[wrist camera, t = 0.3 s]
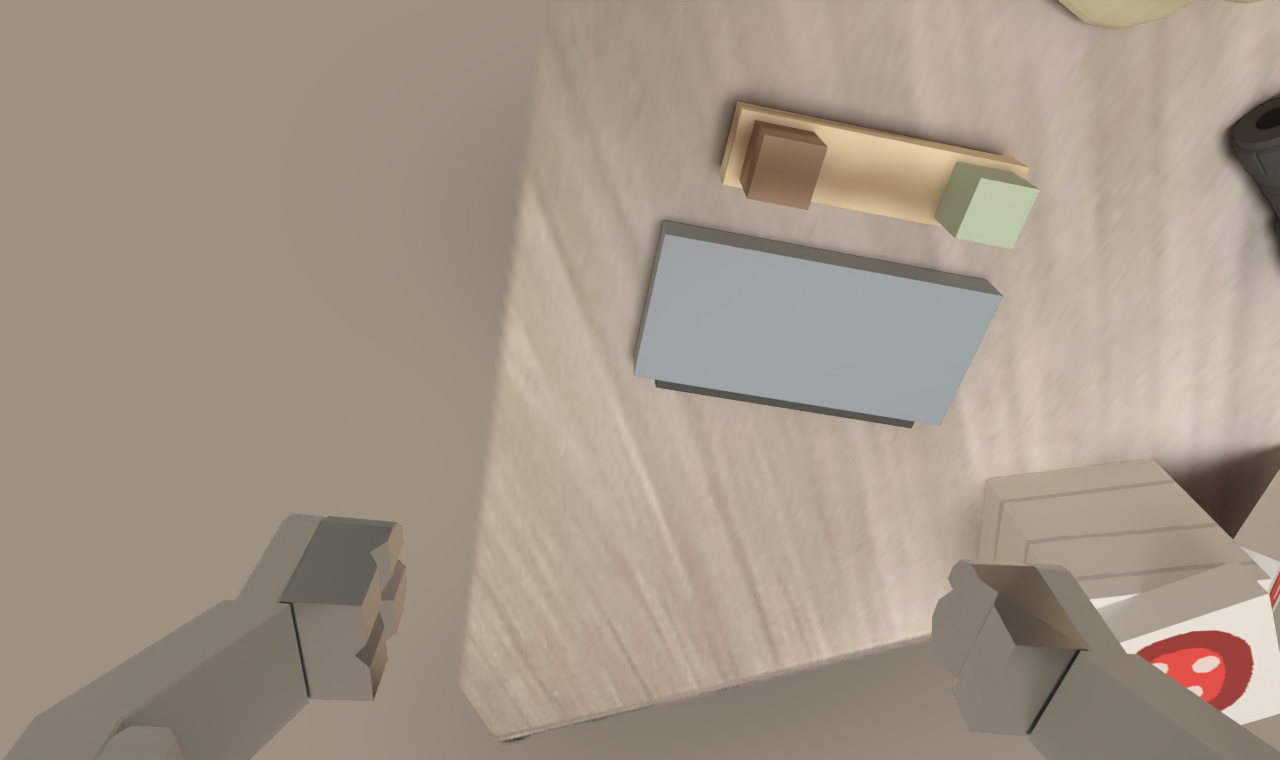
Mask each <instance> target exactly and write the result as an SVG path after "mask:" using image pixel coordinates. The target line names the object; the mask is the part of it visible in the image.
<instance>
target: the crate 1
mask: <svg viewBox="0 0 1280 760" xmlns="http://www.w3.org/2000/svg"><path fill="white" fill-rule="evenodd" d="M827 149H828V147H827V145H826V144H825V143H824V142H823V141H822V140H821V139H820V138H819V137H818V136H817V135H816V133H815V132H812V131H807V130H802V129H797V128H792V127H788V126H783V125H778V124H773V123H768V122H763V121H758V120H755V122H754V126H753V130H752V134H751V137H750V141H749V145H748V149H747V153H746V156H745V160H744V164H743V168H742V171H741V175H740V179H739V181H740V183H741V185H742V188H743V190H744V192H745V195H746V197H747V198H748V199H753V200H758V201H764V202H769V203H774V204H779V205H784V206H790V207H795V208H800V209H805V210H808V208H809V205H810V202H811V199H812V196H813V193H814V189H815V186H816V183H817V180H818V177H819V174H820V171H821V168H822V164H823V161H824V158H825V155H826V152H827Z"/></svg>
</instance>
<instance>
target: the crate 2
mask: <svg viewBox="0 0 1280 760" xmlns="http://www.w3.org/2000/svg"><path fill="white" fill-rule="evenodd" d="M1039 192H1040V189H1038V188H1037V187H1035V186H1033V185H1032V184H1030V183H1029V182H1027V181H1026V180H1024V179H1022V178H1021V177H1019V176H1018V175H1016V174H1015V173H1013V172H1009V171H1004V170H999V169H994V168H989V167H984V166H980V165H975V164H970V163H965V162H960V161H957V162H956V165H955V167H954V169H953V172H952V174H951V177H950V179H949V182H948V184H947V187H946V189H945V191H944V194H943V196H942V199H941V201H940V204H939V206H938V209H937V211H936V213H935V216H934V219H936V220H937V221H938V222H939V223H940V224H941V225H942V226H943V227H944V228H945V229H946V230H947V231H948V232H949V233H950V234H951V235H952V236H953V237H955V238H957V239H962V240H968V241H973V242H978V243H983V244H989V245H994V246H999V247H1004V248H1010V249H1012V248H1013V246H1014V244H1015V242H1016V240H1017V238H1018V236H1019V234H1020V232H1021V229H1022V227H1023V225H1024V223H1025V221H1026V219H1027V217H1028V215H1029V213H1030V211H1031V208H1032V206H1033V204H1034V202H1035V200H1036V198H1037V196H1038V194H1039Z"/></svg>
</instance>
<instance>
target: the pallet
mask: <svg viewBox="0 0 1280 760" xmlns="http://www.w3.org/2000/svg"><path fill="white" fill-rule="evenodd" d="M755 120H758V121H763V122H768V123H773V124H778V125H783V126H788V127H792V128H797V129H802V130H807V131H812V132H815V133H816V135H817V136H818V137H819V138H820V139H821V140H822V141H823V142H824V143H825V144H826V145H827V147H828V149H827V152H826V155H825V158H824V161H823V164H822V168H821V171H820V174H819V177H818V180H817V183H816V186H815V189H814V193H813V196H812V199H811V202H816V203H821V204H826V205H831V206H837V207H842V208H847V209H852V210H857V211H863V212H868V213H873V214H878V215H883V216H889V217H894V218H899V219H904V220H909V221H915V222H920V223H925V224H930V225H935V226H941V227H943V226H942V225H941V224H940V223H939V222H938V221H937V220H936V219H934V216H935V213H936V211H937V209H938V206H939V204H940V201H941V199H942V196H943V194H944V191H945V189H946V187H947V184H948V182H949V179H950V177H951V174H952V172H953V169H954V167H955V165H956V162H957V161H960V162H965V163H970V164H975V165H980V166H984V167H989V168H994V169H999V170H1004V171H1009V172H1013V173H1015V174H1016V175H1018V176H1019V177H1021V178H1022V179H1025V176H1026V174H1027V172H1028V170H1029V167H1027V166H1026V165H1024V164H1022V163H1021V162H1019V161H1017V160H1016V159H1014V158H1011V157H1006V156H1001V155H996V154H991V153H986V152H981V151H977V150H972V149H967V148H962V147H957V146H952V145H947V144H942V143H938V142H933V141H928V140H923V139H918V138H913V137H908V136H904V135H899V134H894V133H889V132H884V131H879V130H874V129H869V128H865V127H860V126H855V125H850V124H845V123H840V122H835V121H830V120H826V119H821V118H816V117H811V116H806V115H801V114H796V113H791V112H787V111H782V110H777V109H772V108H767V107H762V106H757V105H753V104H748V103H743V102H738V101H737V105H736V109H735V113H734V117H733V121H732V125H731V129H730V133H729V137H728V141H727V145H726V149H725V153H724V157H723V161H722V165H721V169H720V173H719V175H720V178H721V181H722V183H723V185H727V186H733V187H738V188H742V185H741V183H740V181H739V179H740V175H741V171H742V168H743V164H744V160H745V156H746V153H747V149H748V145H749V141H750V137H751V134H752V130H753V126H754V122H755Z"/></svg>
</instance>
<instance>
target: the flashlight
mask: <svg viewBox="0 0 1280 760" xmlns="http://www.w3.org/2000/svg"><path fill="white" fill-rule="evenodd" d="M1233 136H1234V138H1235V139H1234V141H1233V147H1234V150H1235V152H1236V154H1237V156H1238V157H1239V159H1240V161H1241V163H1242V165H1243V167H1244V169H1245V170H1246V172H1248V173H1251V174H1253V176H1254V178H1255V179H1256V180H1257V181H1258V184H1259V186H1260V187H1261V190H1262V192H1263V193H1264V194H1265V195H1266V196H1268V198H1269V200H1270V202H1271V204H1272V206H1273V208H1274V210H1275V212H1276V214H1277V216H1278V218H1279V220H1278V223H1277V231H1278V233H1279V234H1280V97H1279V98H1276V99H1274V100H1271V101H1269V102H1266V103H1264V104H1262V105H1260V106H1259V107H1257V108H1255V109H1254V110H1252V111H1251V112H1249V113H1248V114H1247V115H1245V116H1244V117H1243V118H1242V119H1241V120H1240V121H1239V122H1238V124H1237V125H1236V127H1235V128H1234V131H1233Z"/></svg>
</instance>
